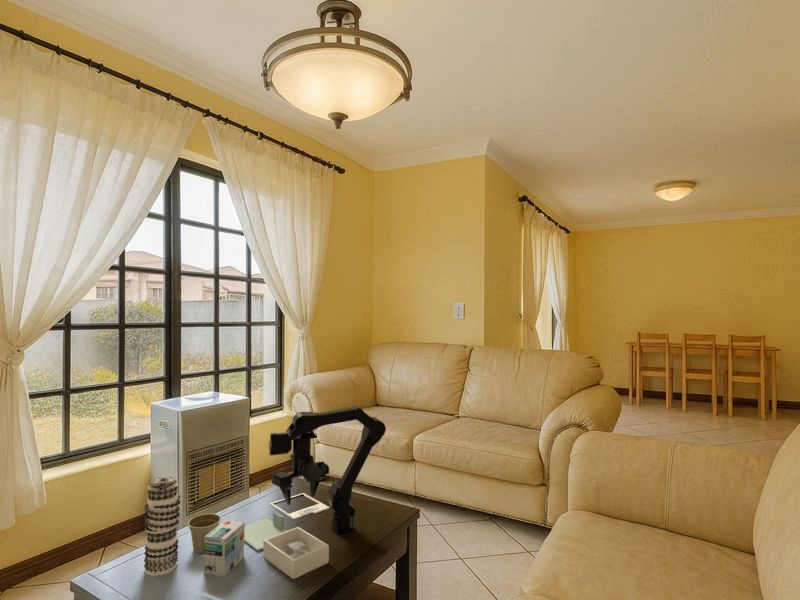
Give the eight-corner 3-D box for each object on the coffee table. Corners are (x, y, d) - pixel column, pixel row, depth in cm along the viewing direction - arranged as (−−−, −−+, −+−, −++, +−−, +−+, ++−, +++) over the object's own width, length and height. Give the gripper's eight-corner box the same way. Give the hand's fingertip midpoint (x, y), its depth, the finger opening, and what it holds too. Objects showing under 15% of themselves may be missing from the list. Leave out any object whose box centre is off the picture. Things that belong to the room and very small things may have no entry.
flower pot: (195, 560, 136) (196, 530, 136) (182, 548, 142) (182, 520, 143) (225, 548, 143) (226, 520, 143) (211, 537, 149) (212, 510, 149)
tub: (297, 544, 146) (298, 526, 146) (328, 564, 135) (328, 545, 135) (263, 558, 137) (263, 540, 137) (293, 581, 126) (293, 561, 126)
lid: (266, 522, 161) (267, 506, 161) (293, 539, 149) (293, 522, 149) (232, 534, 152) (232, 517, 152) (257, 553, 140) (257, 535, 140)
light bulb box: (224, 578, 127) (225, 539, 127) (202, 575, 128) (203, 536, 129) (245, 558, 137) (245, 521, 138) (224, 555, 139) (225, 519, 139)
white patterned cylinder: (186, 561, 135) (188, 475, 136) (163, 579, 126) (165, 487, 127) (159, 556, 138) (161, 472, 138) (135, 574, 128) (137, 483, 129)
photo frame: (295, 518, 162) (269, 502, 175) (294, 522, 162) (269, 505, 175) (329, 506, 172) (303, 492, 185) (329, 509, 172) (303, 495, 185)
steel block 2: (294, 561, 135) (294, 552, 135) (305, 564, 134) (305, 555, 134) (285, 567, 132) (285, 559, 132) (296, 571, 130) (297, 562, 130)
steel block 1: (297, 548, 142) (297, 539, 142) (305, 553, 140) (305, 544, 140) (286, 552, 140) (286, 544, 140) (293, 558, 137) (293, 549, 137)
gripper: (290, 465, 138) (289, 517, 138) (339, 451, 152) (339, 499, 151) (271, 456, 146) (270, 506, 146) (319, 444, 159) (318, 489, 159)
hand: (300, 500), depth 150 cm, fingers open, 9 cm apart
